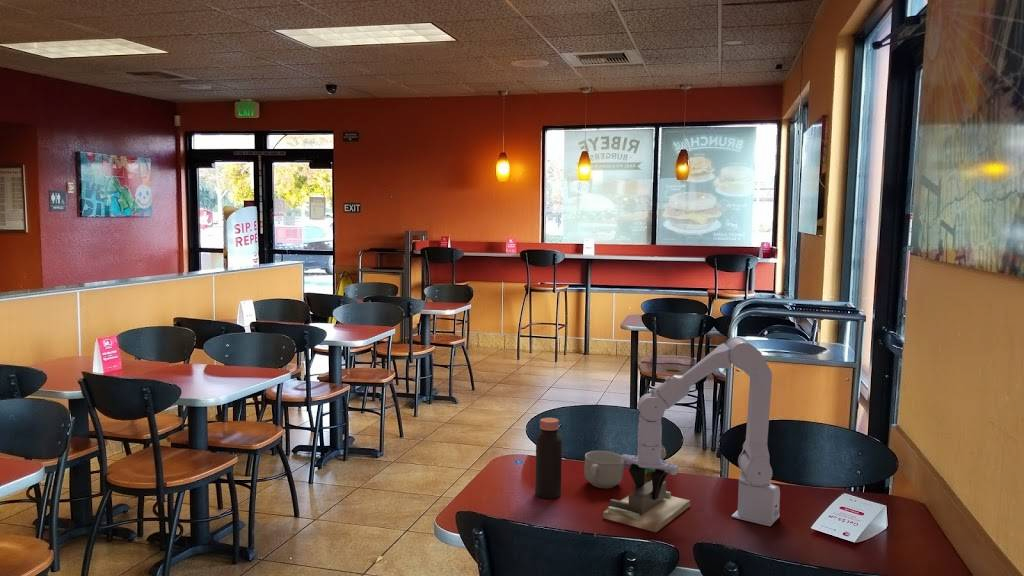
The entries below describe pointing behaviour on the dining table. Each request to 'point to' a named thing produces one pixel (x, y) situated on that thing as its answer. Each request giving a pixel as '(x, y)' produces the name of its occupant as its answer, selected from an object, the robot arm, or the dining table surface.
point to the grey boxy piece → (640, 499)
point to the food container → (649, 471)
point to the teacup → (603, 468)
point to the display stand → (649, 513)
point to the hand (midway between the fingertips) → (647, 496)
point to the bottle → (548, 460)
